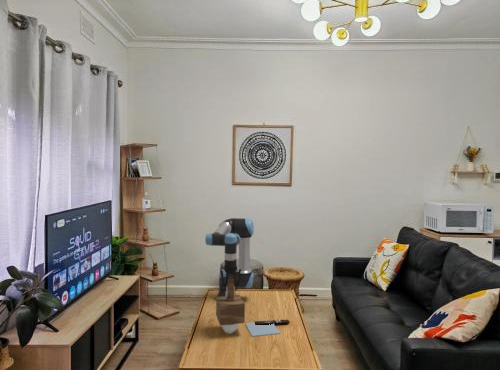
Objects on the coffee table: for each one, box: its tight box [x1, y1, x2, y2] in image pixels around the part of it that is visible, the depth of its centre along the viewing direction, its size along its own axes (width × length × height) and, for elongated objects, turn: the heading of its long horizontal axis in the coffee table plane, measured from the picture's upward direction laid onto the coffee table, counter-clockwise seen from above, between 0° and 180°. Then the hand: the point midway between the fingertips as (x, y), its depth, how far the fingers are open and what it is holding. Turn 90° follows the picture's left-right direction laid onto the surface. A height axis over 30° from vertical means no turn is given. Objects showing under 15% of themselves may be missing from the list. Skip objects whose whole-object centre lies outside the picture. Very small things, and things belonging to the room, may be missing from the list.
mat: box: [244, 321, 281, 338], centre depth 229 cm, size 18×18×1 cm
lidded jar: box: [221, 324, 239, 334], centre depth 225 cm, size 11×11×9 cm
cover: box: [215, 277, 246, 326], centre depth 224 cm, size 15×15×26 cm
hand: (230, 296), depth 224 cm, fingers closed on cover, 4 cm apart
